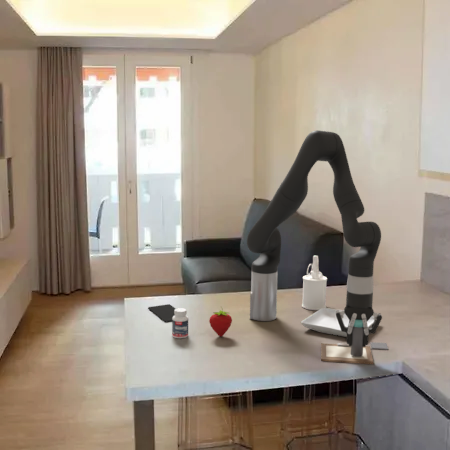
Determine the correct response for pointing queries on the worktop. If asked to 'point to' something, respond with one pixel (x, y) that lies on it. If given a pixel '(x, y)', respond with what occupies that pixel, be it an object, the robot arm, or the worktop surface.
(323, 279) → the white nozzle bottle
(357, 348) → the marker
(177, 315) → the pill bottle
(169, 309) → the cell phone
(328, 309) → the salad plate
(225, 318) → the strawberry
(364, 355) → the clipboard
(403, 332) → the worktop surface
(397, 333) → the worktop surface
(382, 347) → the coaster
